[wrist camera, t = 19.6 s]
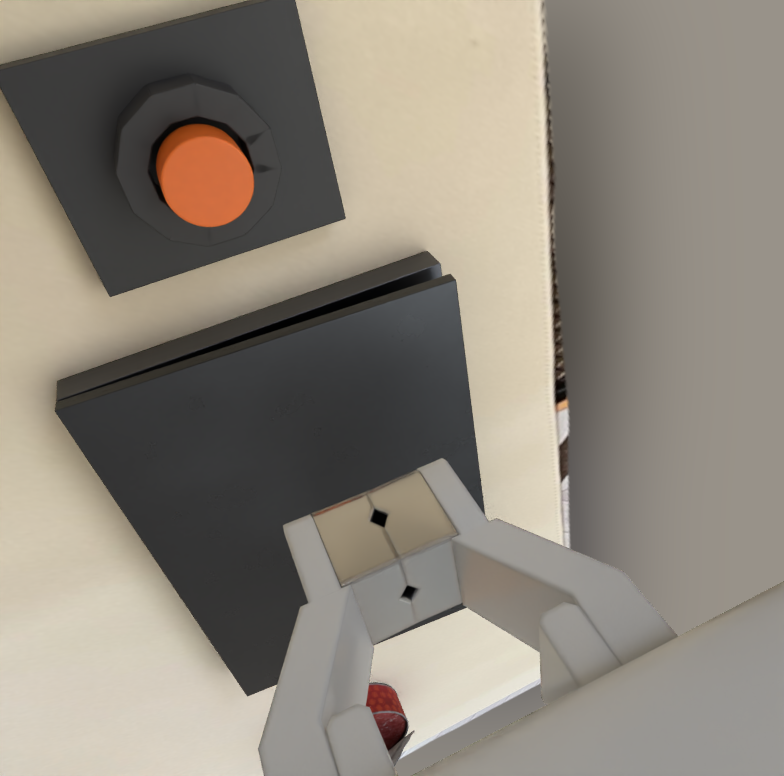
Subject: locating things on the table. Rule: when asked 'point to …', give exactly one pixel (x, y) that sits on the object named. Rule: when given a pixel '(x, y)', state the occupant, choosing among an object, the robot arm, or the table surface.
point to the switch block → (164, 115)
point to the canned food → (389, 718)
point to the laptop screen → (278, 452)
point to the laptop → (259, 323)
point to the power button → (204, 175)
